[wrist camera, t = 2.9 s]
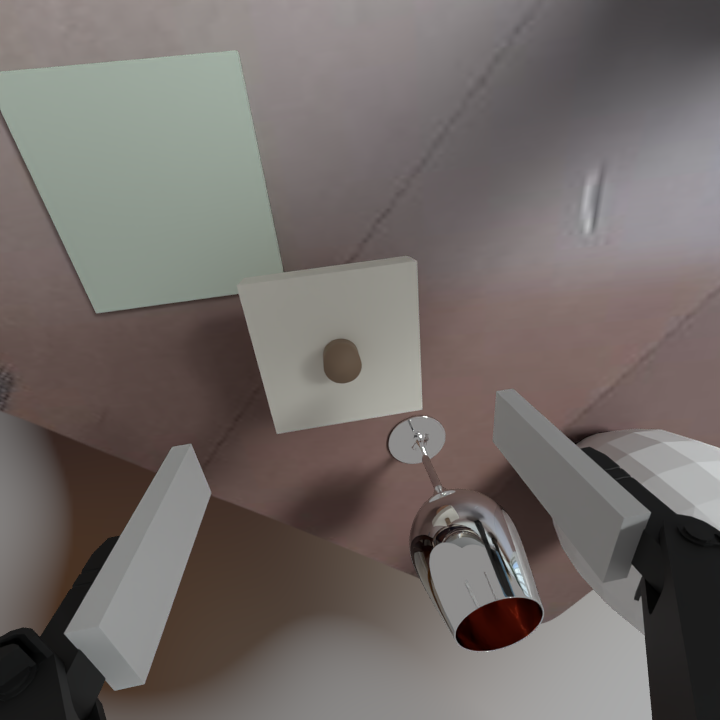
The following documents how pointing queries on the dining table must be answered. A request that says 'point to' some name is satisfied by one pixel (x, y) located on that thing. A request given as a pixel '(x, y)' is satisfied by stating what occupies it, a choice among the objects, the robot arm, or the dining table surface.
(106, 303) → the mat
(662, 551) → the robot arm
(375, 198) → the dining table surface
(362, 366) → the lid
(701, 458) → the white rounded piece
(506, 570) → the wineglass
